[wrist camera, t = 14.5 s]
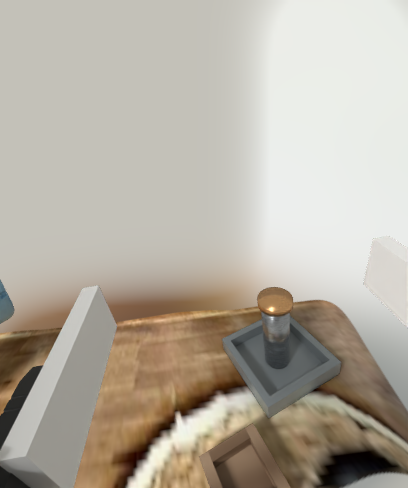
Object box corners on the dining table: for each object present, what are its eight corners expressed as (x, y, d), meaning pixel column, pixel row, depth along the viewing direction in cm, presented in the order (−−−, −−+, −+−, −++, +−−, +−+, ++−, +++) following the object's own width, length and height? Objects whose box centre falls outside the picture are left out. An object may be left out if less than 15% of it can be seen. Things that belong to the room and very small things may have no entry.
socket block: (202, 466, 29) (199, 456, 28) (254, 433, 31) (252, 422, 30) (233, 551, 23) (230, 543, 22) (294, 503, 25) (294, 494, 24)
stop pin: (256, 353, 40) (250, 295, 34) (279, 341, 41) (277, 283, 35) (274, 377, 36) (271, 316, 30) (299, 362, 37) (300, 301, 32)
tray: (223, 349, 42) (222, 338, 41) (282, 319, 46) (282, 308, 44) (268, 418, 32) (267, 407, 31) (339, 373, 36) (341, 362, 35)
